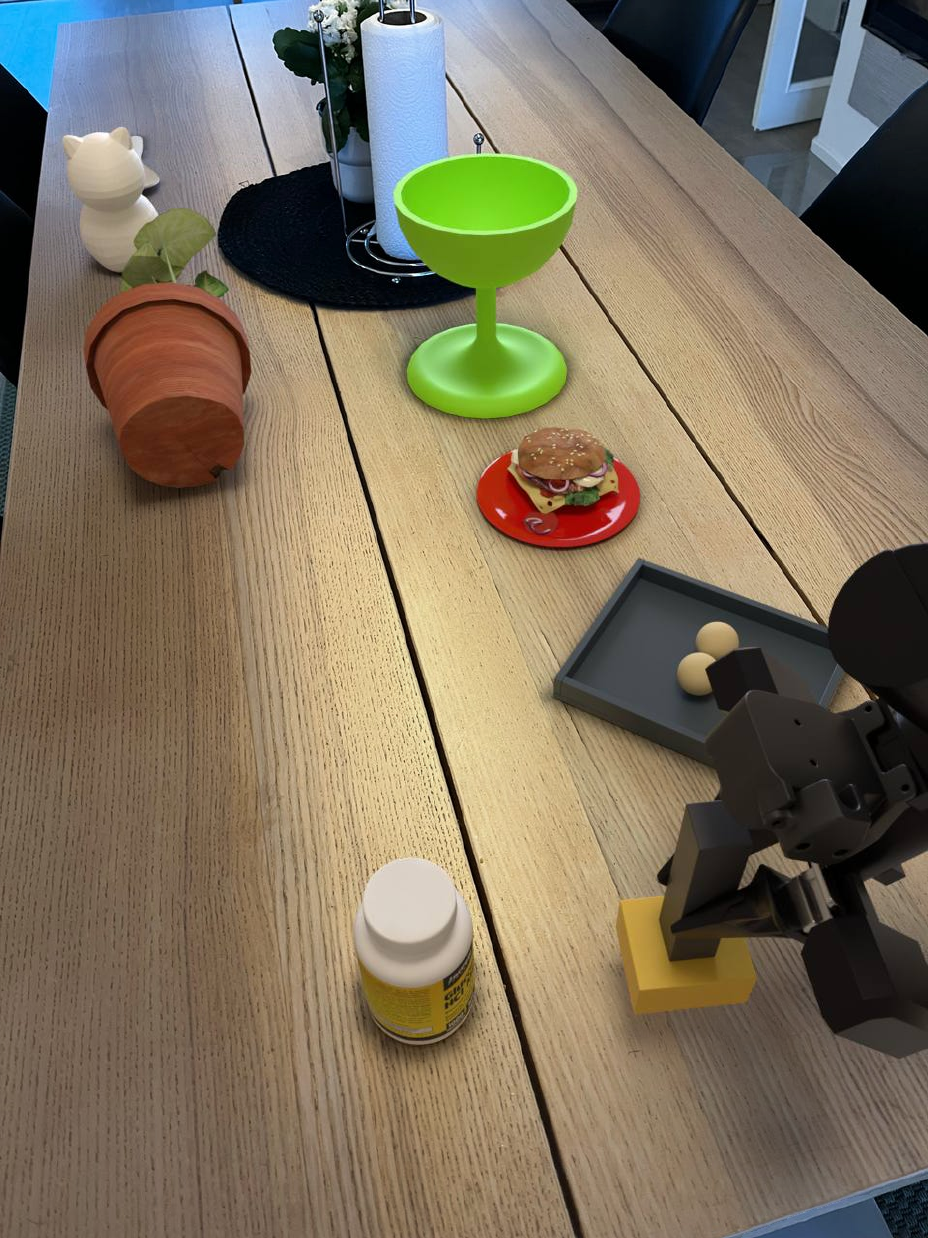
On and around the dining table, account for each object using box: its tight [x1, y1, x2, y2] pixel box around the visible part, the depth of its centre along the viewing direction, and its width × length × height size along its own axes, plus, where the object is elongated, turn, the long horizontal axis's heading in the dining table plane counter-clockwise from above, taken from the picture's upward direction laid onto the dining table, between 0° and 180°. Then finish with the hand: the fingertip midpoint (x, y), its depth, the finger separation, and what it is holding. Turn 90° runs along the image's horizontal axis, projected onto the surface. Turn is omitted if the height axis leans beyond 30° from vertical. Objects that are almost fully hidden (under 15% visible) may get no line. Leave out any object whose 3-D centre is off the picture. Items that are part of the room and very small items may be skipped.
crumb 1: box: [677, 653, 716, 696], centre depth 71 cm, size 3×3×3 cm
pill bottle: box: [352, 857, 476, 1046], centre depth 54 cm, size 6×6×11 cm
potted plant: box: [83, 207, 252, 489], centre depth 95 cm, size 16×15×35 cm
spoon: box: [130, 135, 160, 190], centre depth 136 cm, size 4×21×2 cm, turn 17°
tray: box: [552, 557, 846, 769], centre depth 73 cm, size 17×14×2 cm
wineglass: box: [392, 152, 579, 420], centre depth 95 cm, size 16×16×18 cm
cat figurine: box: [61, 126, 159, 273], centre depth 114 cm, size 9×12×15 cm
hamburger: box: [476, 426, 641, 548], centre depth 86 cm, size 14×14×6 cm
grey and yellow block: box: [615, 800, 758, 1015], centre depth 50 cm, size 6×5×14 cm
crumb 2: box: [696, 622, 739, 660], centre depth 73 cm, size 3×3×3 cm
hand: (668, 907), depth 50 cm, fingers closed on grey and yellow block, 2 cm apart
